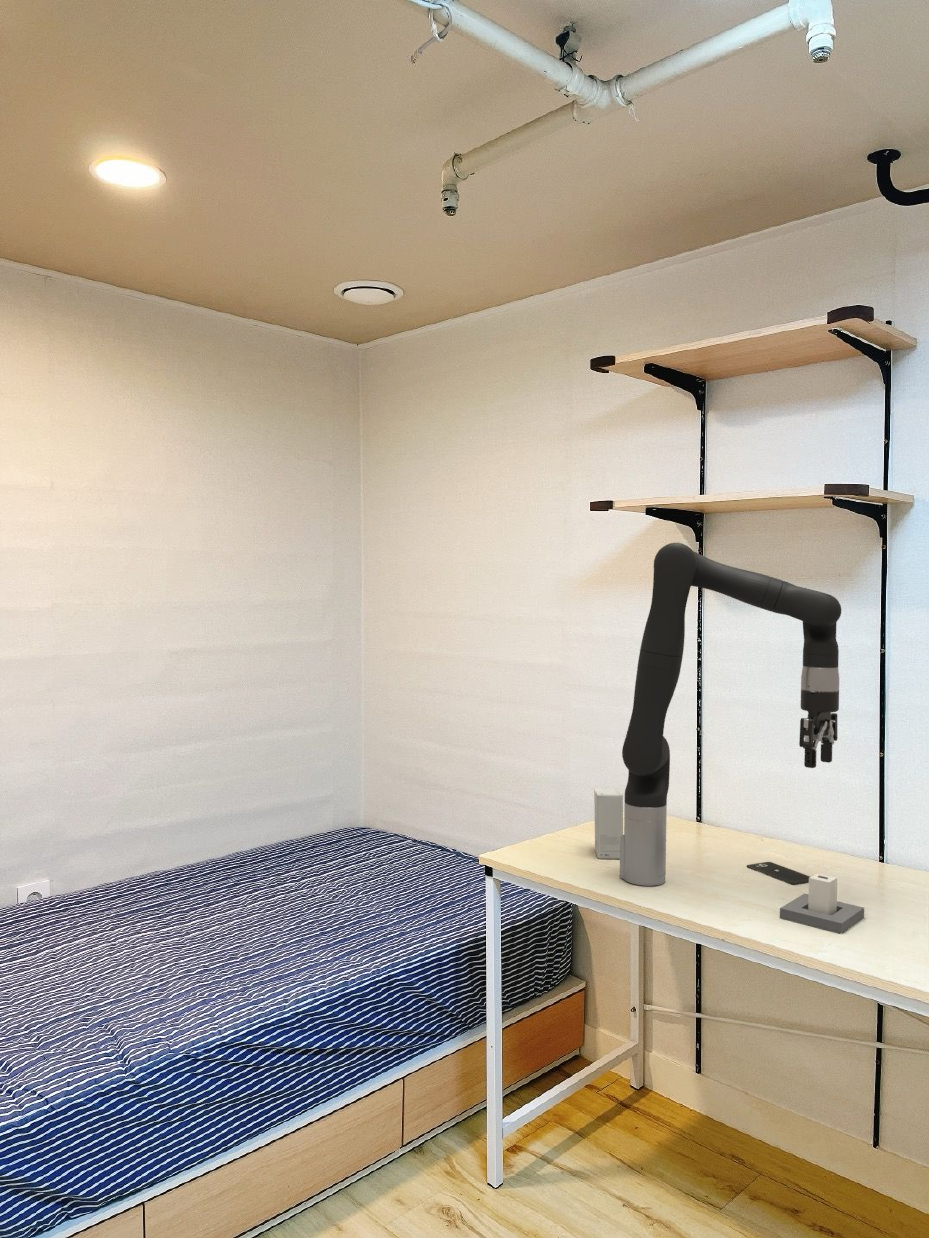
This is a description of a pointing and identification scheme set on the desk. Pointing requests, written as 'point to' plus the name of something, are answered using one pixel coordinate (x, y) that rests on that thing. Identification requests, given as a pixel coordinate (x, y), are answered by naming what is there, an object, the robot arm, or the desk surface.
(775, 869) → the smartphone
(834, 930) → the socket plate
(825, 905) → the charger
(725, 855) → the desk surface
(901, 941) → the desk surface
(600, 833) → the skincare box
